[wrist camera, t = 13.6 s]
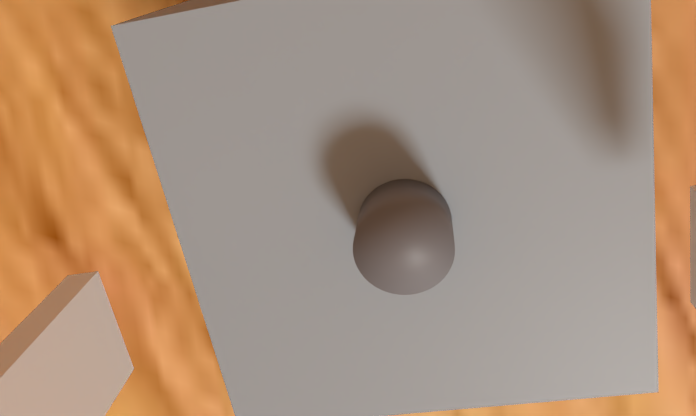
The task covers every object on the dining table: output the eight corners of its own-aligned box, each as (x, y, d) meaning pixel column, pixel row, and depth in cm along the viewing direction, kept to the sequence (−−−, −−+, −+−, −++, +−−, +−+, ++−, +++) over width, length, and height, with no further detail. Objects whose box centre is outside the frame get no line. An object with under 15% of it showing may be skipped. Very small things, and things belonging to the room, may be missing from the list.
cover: (311, 226, 34) (225, 467, 19) (253, -21, 29) (79, 36, 14) (556, 193, 32) (679, 433, 17) (535, -79, 27) (676, -82, 12)
